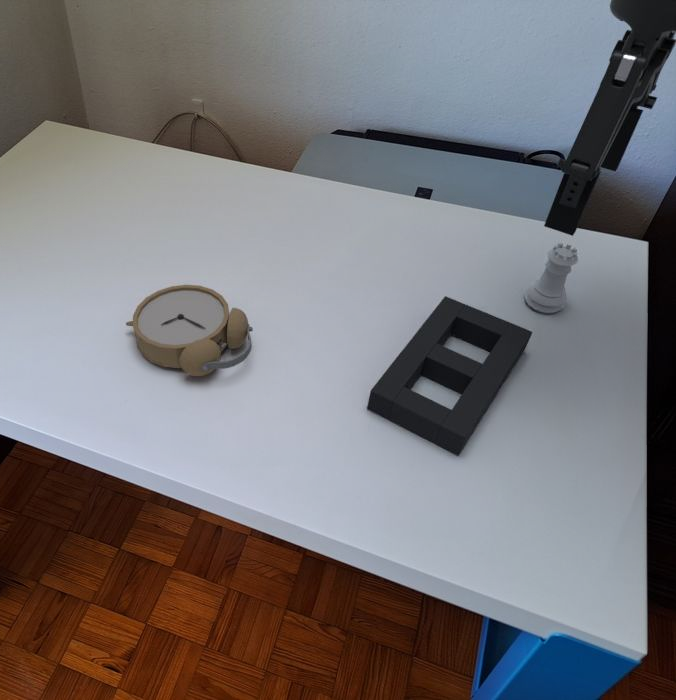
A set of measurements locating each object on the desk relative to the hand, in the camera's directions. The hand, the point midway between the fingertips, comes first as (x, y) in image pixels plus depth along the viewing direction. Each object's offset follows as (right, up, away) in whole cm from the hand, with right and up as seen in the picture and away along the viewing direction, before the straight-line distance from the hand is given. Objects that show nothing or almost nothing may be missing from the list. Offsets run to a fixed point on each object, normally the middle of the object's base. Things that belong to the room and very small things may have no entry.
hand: (582, 196), depth 69 cm
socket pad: (-11, -19, +6) cm, 23 cm away
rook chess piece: (+3, -10, +14) cm, 17 cm away
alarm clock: (-39, -15, +11) cm, 43 cm away
